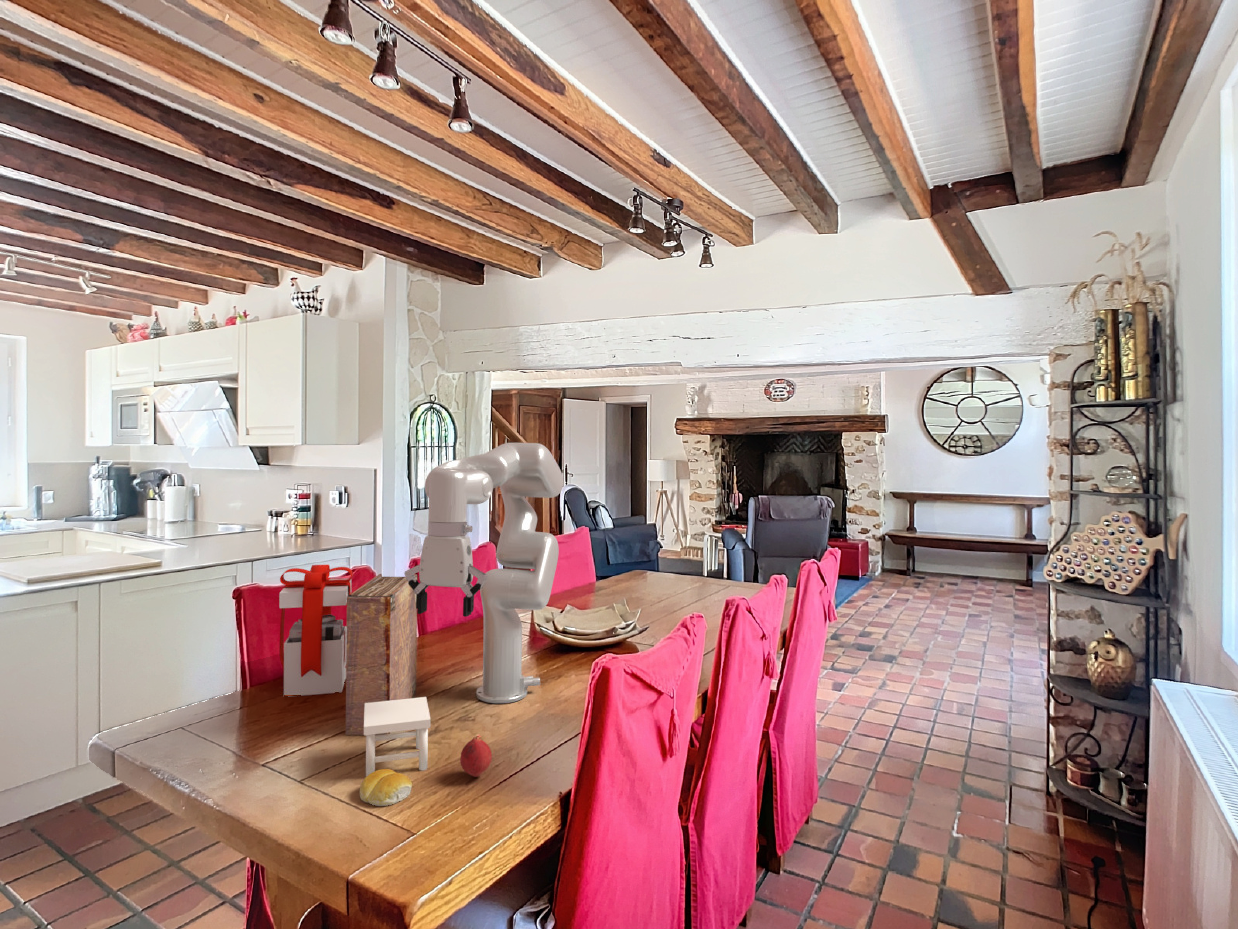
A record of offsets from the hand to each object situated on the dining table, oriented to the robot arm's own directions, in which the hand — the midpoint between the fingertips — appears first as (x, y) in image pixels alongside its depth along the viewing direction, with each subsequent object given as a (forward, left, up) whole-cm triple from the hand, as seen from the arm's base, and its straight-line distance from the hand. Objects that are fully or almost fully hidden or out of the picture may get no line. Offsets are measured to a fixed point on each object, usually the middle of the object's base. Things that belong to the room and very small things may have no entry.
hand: (444, 614), depth 140 cm
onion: (-5, +14, -28) cm, 32 cm away
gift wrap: (+27, -46, -28) cm, 61 cm away
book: (+11, -23, -28) cm, 38 cm away
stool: (+9, +3, -28) cm, 30 cm away
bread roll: (+11, +15, -29) cm, 34 cm away
